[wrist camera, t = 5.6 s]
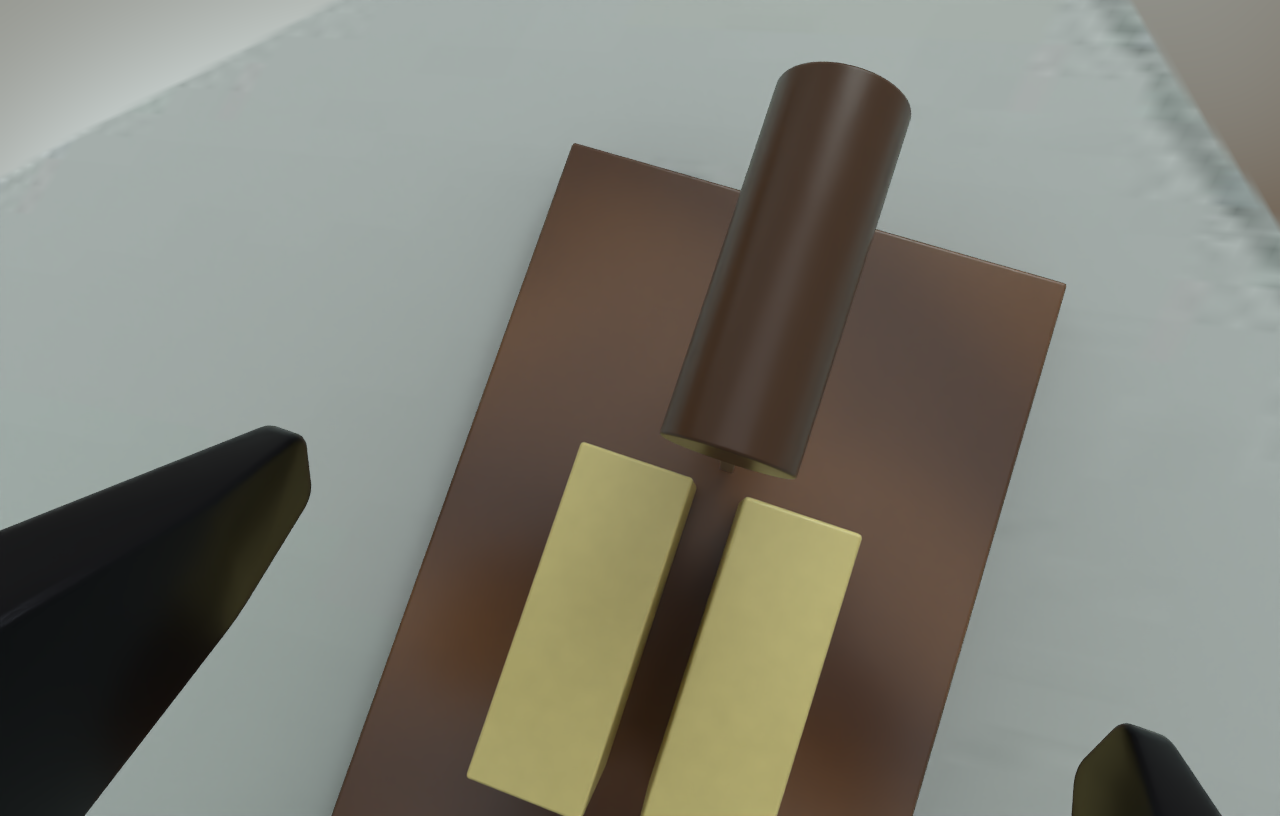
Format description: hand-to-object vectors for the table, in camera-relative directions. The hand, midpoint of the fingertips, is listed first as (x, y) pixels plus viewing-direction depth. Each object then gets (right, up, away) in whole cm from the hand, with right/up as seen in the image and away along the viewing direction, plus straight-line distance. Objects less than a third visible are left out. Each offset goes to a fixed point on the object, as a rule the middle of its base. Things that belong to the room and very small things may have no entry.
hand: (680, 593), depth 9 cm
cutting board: (+1, -3, +11) cm, 12 cm away
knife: (+2, +3, +10) cm, 11 cm away
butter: (0, -3, +10) cm, 10 cm away
